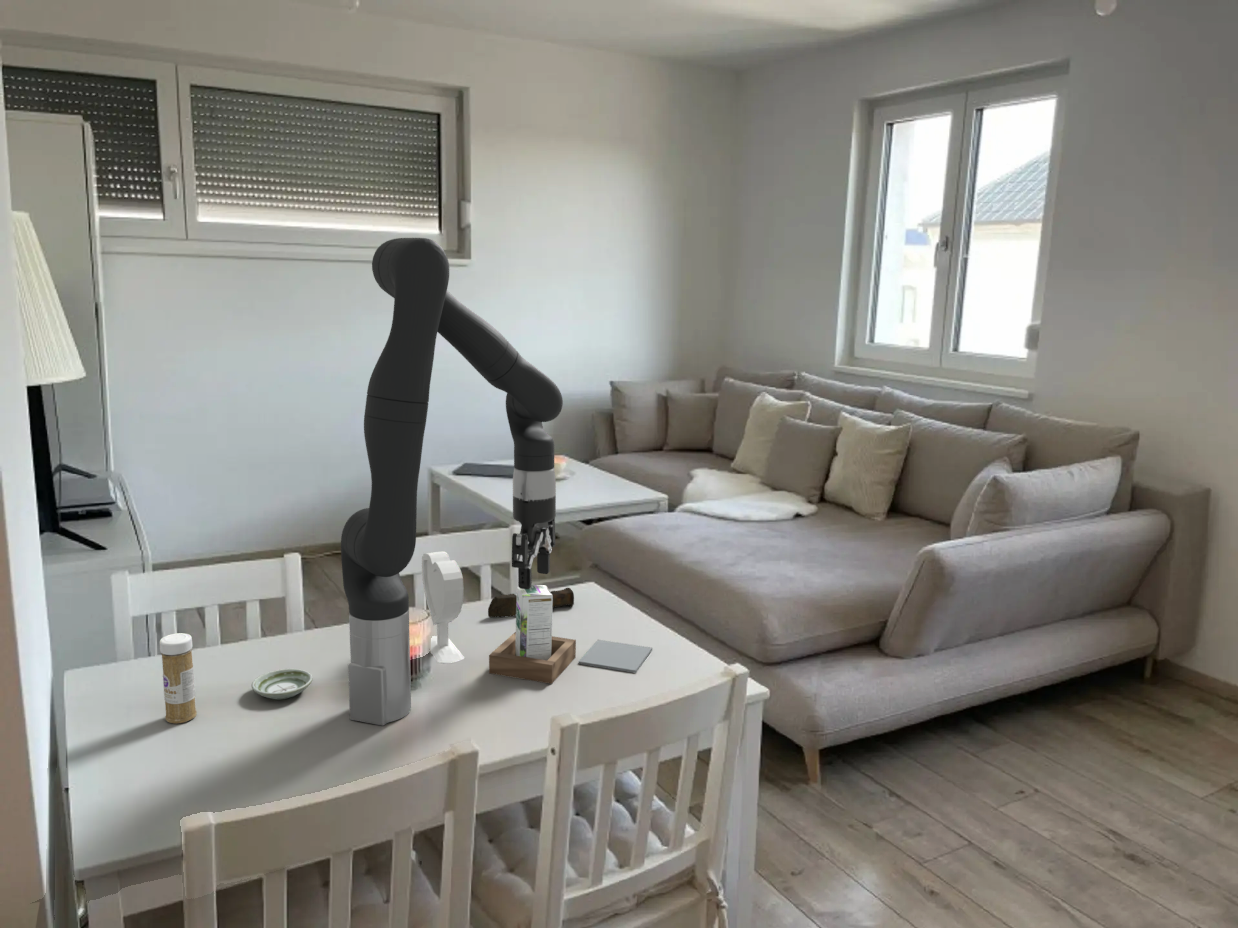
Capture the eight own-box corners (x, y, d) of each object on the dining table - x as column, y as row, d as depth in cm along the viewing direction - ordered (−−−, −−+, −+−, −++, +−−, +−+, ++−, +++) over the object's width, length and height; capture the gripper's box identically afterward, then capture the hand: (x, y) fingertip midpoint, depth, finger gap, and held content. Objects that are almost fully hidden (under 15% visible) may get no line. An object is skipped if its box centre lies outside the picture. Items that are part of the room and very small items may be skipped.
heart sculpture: (419, 636, 180) (417, 547, 176) (444, 632, 182) (443, 544, 178) (441, 666, 166) (440, 571, 163) (468, 662, 169) (467, 568, 165)
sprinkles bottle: (159, 720, 144) (152, 640, 141) (183, 708, 148) (177, 630, 146) (180, 727, 142) (173, 645, 140) (204, 714, 146) (198, 635, 144)
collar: (551, 683, 161) (552, 664, 160) (489, 673, 164) (489, 654, 164) (575, 657, 172) (575, 639, 171) (516, 648, 175) (516, 630, 175)
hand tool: (567, 602, 201) (568, 582, 200) (575, 608, 198) (575, 587, 197) (484, 614, 193) (484, 593, 192) (490, 621, 189) (490, 599, 188)
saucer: (286, 676, 161) (286, 663, 161) (325, 690, 157) (325, 676, 156) (239, 696, 153) (238, 683, 153) (278, 712, 148) (277, 698, 148)
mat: (635, 672, 166) (635, 670, 166) (578, 663, 169) (578, 661, 169) (652, 649, 176) (652, 647, 176) (597, 641, 179) (597, 639, 179)
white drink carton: (514, 660, 170) (514, 585, 167) (545, 657, 172) (546, 583, 169) (520, 673, 165) (520, 596, 162) (552, 670, 166) (553, 593, 163)
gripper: (530, 482, 169) (530, 566, 173) (497, 500, 156) (498, 590, 159) (568, 485, 167) (568, 570, 170) (538, 504, 154) (538, 596, 157)
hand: (534, 580), depth 165 cm, fingers open, 8 cm apart
